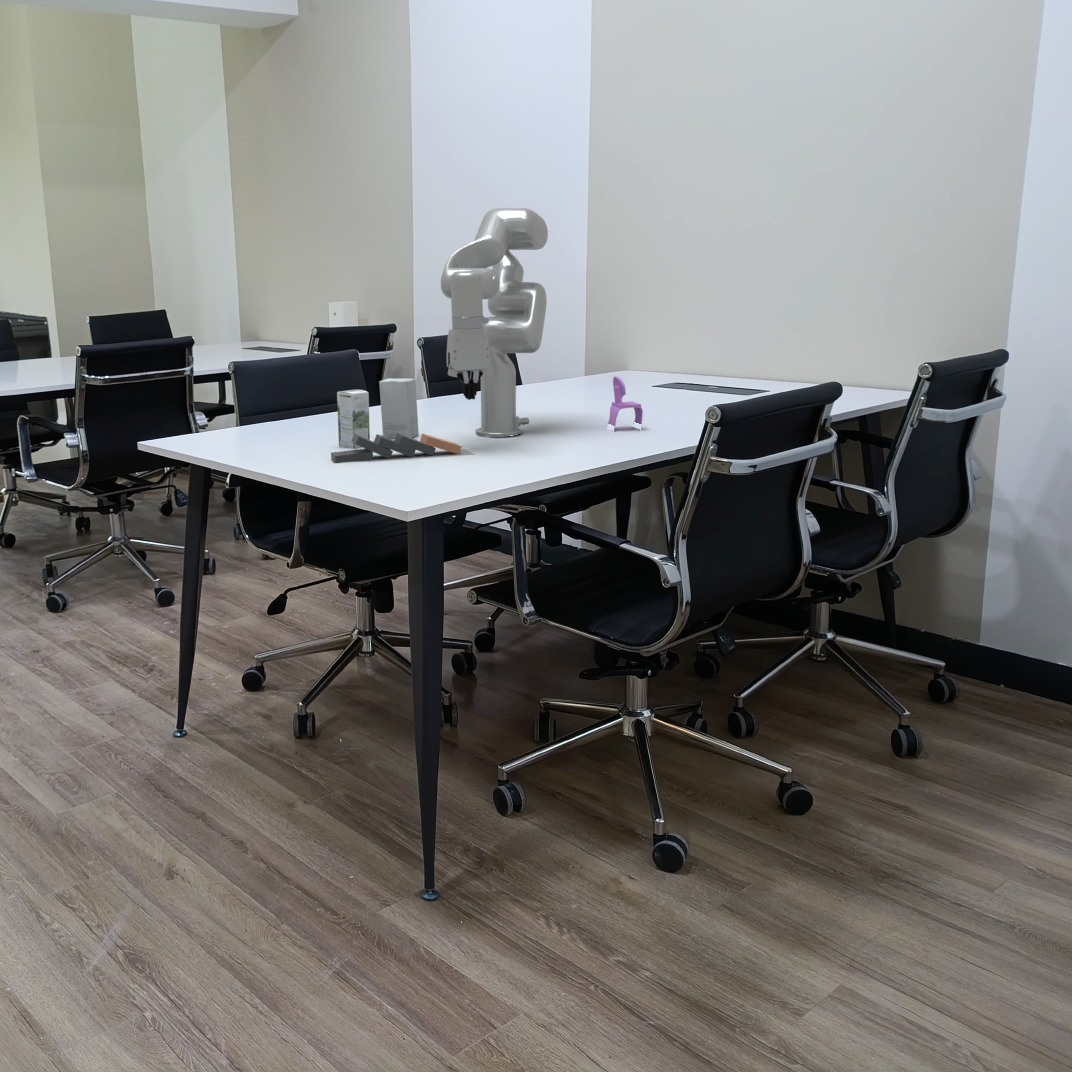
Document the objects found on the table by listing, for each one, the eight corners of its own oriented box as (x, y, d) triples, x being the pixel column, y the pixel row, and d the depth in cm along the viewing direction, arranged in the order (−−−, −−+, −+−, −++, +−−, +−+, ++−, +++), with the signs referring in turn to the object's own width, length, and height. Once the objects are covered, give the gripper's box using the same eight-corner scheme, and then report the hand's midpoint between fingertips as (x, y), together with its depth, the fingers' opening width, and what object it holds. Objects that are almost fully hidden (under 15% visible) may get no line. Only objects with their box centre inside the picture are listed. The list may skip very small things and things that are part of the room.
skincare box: (419, 435, 285) (417, 378, 281) (409, 439, 279) (408, 381, 275) (390, 434, 288) (388, 377, 284) (380, 438, 281) (378, 380, 277)
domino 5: (455, 443, 260) (422, 433, 257) (461, 446, 256) (427, 436, 252) (453, 450, 261) (419, 441, 257) (459, 454, 256) (425, 444, 252)
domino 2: (388, 448, 254) (354, 433, 251) (393, 451, 250) (358, 436, 246) (384, 455, 255) (351, 440, 251) (389, 459, 250) (355, 444, 246)
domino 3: (410, 446, 256) (376, 434, 253) (415, 449, 252) (381, 437, 248) (407, 454, 257) (373, 441, 253) (412, 457, 252) (378, 445, 248)
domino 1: (367, 448, 253) (330, 452, 250) (372, 451, 248) (334, 456, 245) (368, 456, 253) (331, 460, 250) (373, 460, 249) (335, 464, 246)
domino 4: (430, 445, 258) (397, 432, 254) (436, 448, 254) (402, 435, 250) (427, 452, 258) (394, 440, 255) (433, 456, 254) (399, 443, 250)
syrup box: (355, 444, 272) (353, 388, 268) (371, 447, 268) (368, 390, 264) (338, 447, 267) (335, 390, 264) (354, 450, 264) (351, 392, 260)
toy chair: (644, 431, 294) (645, 377, 290) (614, 432, 291) (615, 378, 287) (633, 426, 301) (634, 374, 297) (604, 427, 299) (605, 375, 295)
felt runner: (465, 450, 263) (465, 449, 263) (475, 456, 256) (475, 454, 256) (362, 457, 254) (362, 455, 254) (370, 463, 247) (370, 461, 247)
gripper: (491, 320, 260) (493, 393, 266) (433, 323, 255) (436, 398, 260) (501, 323, 253) (503, 398, 259) (442, 327, 248) (445, 403, 254)
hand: (470, 398), depth 260 cm, fingers closed
